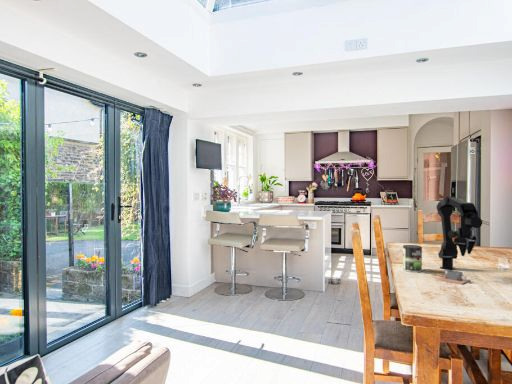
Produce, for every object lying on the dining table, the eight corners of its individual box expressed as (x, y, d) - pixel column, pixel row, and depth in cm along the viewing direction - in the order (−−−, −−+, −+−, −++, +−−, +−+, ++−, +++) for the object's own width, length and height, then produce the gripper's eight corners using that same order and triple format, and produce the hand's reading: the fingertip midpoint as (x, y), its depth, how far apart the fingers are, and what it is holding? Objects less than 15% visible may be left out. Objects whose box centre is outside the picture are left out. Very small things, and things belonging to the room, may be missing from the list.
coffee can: (425, 271, 211) (426, 247, 210) (410, 272, 208) (410, 248, 208) (413, 267, 221) (413, 244, 220) (399, 268, 218) (399, 245, 218)
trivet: (445, 276, 199) (445, 275, 199) (470, 280, 190) (470, 279, 190) (436, 280, 191) (436, 278, 191) (461, 284, 182) (461, 283, 182)
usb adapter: (443, 278, 193) (443, 270, 193) (446, 277, 195) (446, 269, 195) (464, 281, 185) (464, 274, 185) (467, 280, 188) (467, 272, 188)
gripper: (456, 223, 209) (456, 251, 209) (443, 226, 197) (443, 255, 197) (478, 225, 201) (478, 253, 201) (466, 227, 188) (466, 258, 189)
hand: (466, 255), depth 197 cm, fingers open, 9 cm apart
